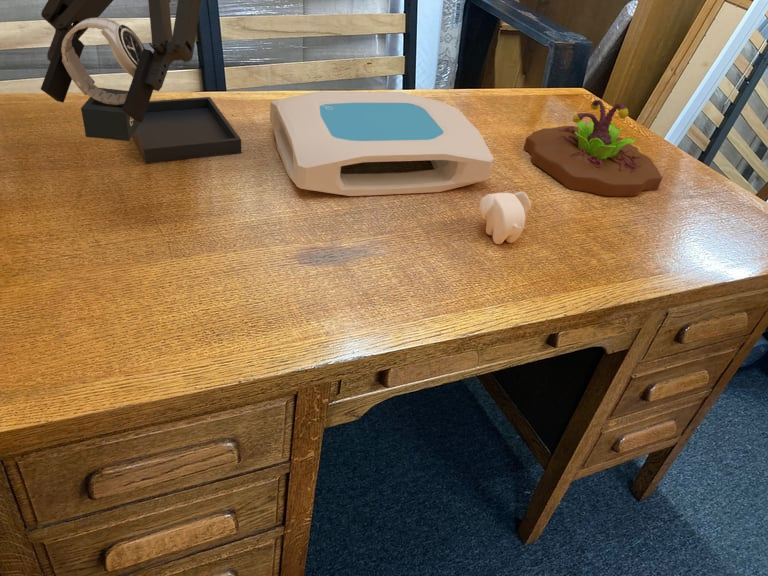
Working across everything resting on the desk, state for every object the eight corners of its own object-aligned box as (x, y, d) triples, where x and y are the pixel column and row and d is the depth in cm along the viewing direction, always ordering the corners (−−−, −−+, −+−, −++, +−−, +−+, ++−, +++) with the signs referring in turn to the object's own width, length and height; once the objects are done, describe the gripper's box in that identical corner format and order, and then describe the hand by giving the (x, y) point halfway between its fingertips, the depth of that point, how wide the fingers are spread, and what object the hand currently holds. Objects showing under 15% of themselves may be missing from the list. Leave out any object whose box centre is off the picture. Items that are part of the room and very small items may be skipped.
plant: (570, 201, 91) (597, 129, 84) (508, 140, 105) (526, 75, 98) (677, 194, 98) (710, 127, 91) (605, 138, 112) (629, 76, 105)
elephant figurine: (505, 216, 85) (516, 178, 81) (535, 250, 79) (549, 210, 76) (461, 220, 83) (471, 181, 79) (489, 255, 77) (501, 214, 73)
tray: (122, 116, 93) (120, 102, 92) (210, 109, 99) (209, 96, 98) (145, 163, 83) (143, 149, 82) (241, 152, 89) (241, 139, 88)
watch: (148, 143, 65) (137, 35, 59) (68, 135, 64) (47, 24, 58) (160, 120, 70) (151, 18, 63) (85, 112, 69) (68, 8, 62)
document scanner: (488, 190, 90) (499, 151, 86) (297, 200, 81) (300, 156, 77) (434, 127, 105) (441, 91, 102) (268, 129, 96) (269, 89, 92)
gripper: (267, -51, 67) (202, 144, 65) (92, -88, 70) (23, 99, 67) (246, -104, 60) (172, 114, 57) (51, -143, 62) (-28, 64, 60)
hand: (91, 105), depth 62 cm, fingers closed on watch, 8 cm apart
